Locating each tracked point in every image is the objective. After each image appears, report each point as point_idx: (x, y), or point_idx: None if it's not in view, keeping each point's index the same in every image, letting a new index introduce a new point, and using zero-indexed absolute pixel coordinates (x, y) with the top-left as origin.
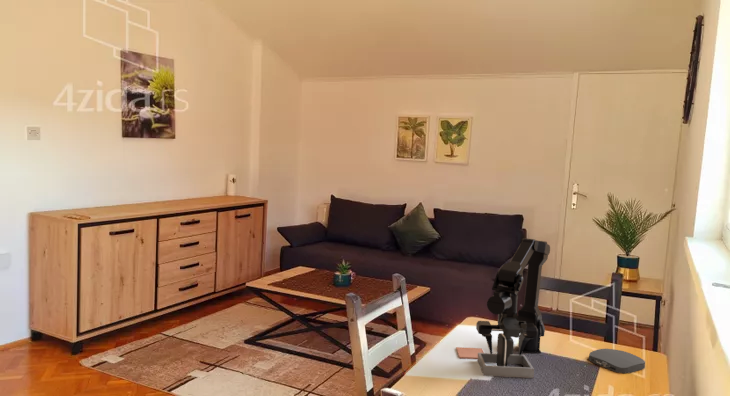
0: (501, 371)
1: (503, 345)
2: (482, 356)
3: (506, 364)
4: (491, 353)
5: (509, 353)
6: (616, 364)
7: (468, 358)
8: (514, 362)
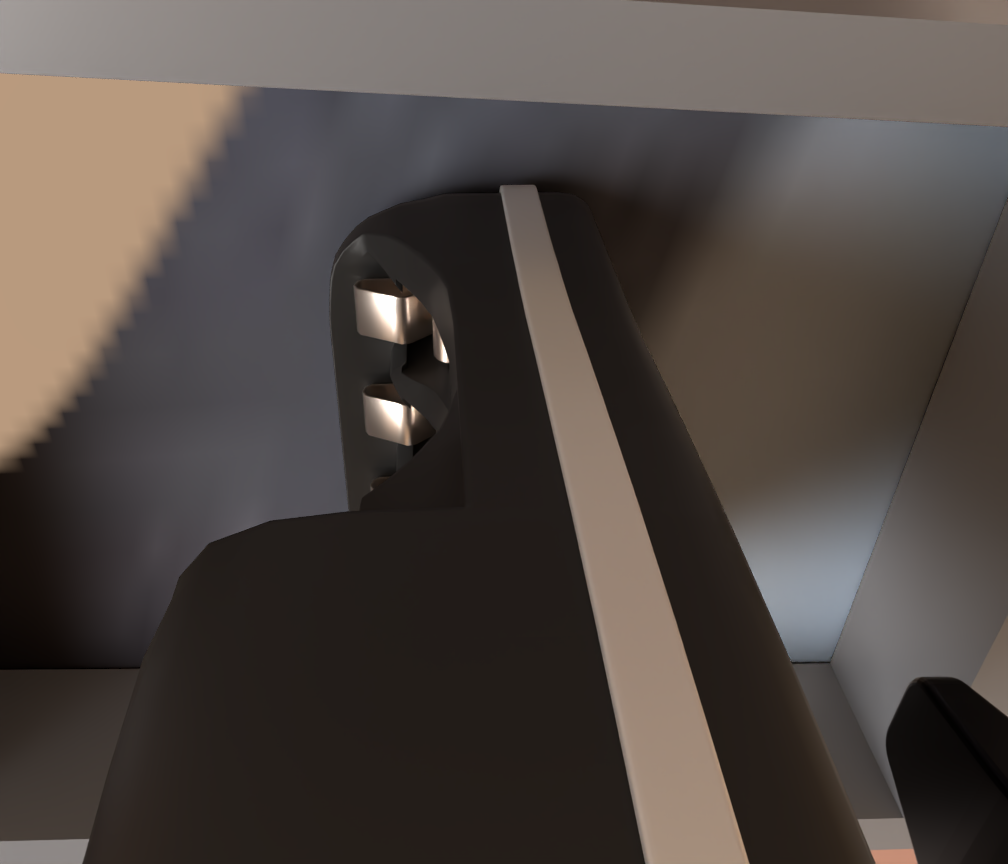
0: None
1: None
2: (836, 763)
3: (474, 294)
4: (947, 686)
5: (383, 545)
6: None
7: None
8: None
